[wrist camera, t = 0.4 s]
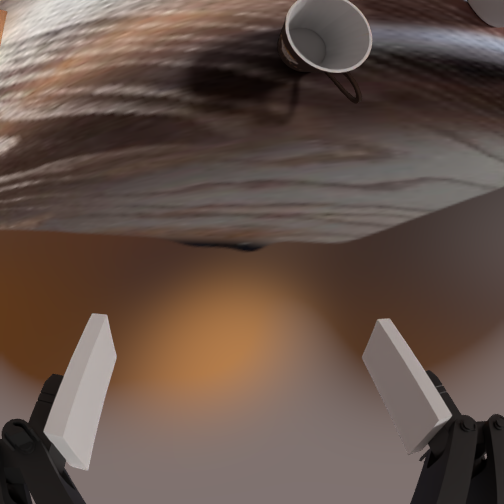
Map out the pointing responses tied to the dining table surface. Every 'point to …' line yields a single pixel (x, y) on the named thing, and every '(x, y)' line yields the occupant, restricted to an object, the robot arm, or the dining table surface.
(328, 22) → the coffee mug
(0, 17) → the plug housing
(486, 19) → the cylinder vase
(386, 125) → the dining table surface
